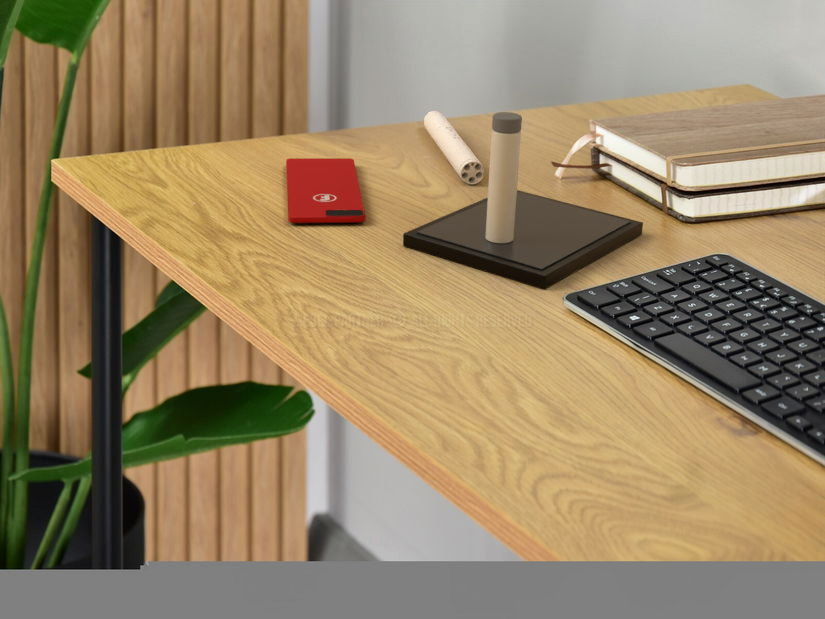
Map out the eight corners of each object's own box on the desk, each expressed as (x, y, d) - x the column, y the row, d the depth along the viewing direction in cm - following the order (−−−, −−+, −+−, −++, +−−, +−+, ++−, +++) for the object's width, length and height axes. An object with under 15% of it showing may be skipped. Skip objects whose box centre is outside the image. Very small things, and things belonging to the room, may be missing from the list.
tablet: (508, 199, 97) (509, 186, 97) (642, 234, 91) (643, 221, 90) (402, 246, 87) (403, 231, 87) (544, 289, 80) (545, 274, 80)
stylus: (495, 231, 87) (503, 110, 83) (518, 238, 86) (527, 115, 82) (479, 239, 86) (487, 115, 82) (503, 246, 85) (511, 121, 81)
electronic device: (286, 163, 104) (288, 223, 90) (286, 157, 103) (288, 216, 90) (353, 163, 104) (365, 223, 91) (353, 157, 104) (365, 216, 90)
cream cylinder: (419, 126, 116) (419, 102, 115) (440, 126, 117) (441, 102, 116) (459, 185, 100) (461, 158, 99) (484, 184, 100) (485, 157, 100)
